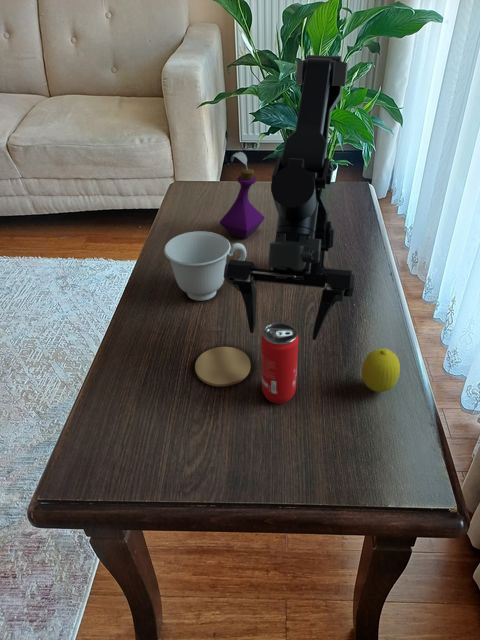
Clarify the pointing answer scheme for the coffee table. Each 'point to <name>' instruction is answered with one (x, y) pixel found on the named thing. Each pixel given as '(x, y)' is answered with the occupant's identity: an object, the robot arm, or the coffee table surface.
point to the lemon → (381, 370)
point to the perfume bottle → (242, 206)
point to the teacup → (200, 262)
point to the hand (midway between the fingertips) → (282, 336)
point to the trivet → (222, 366)
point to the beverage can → (279, 362)
